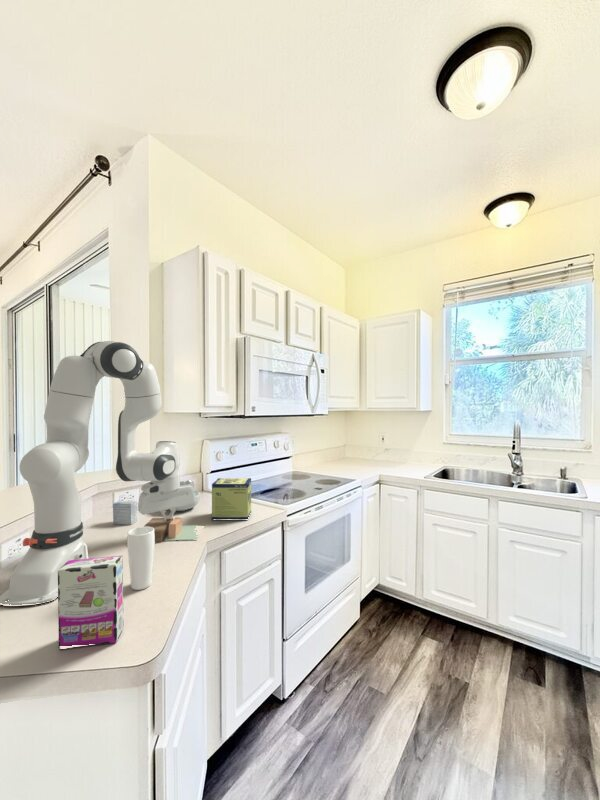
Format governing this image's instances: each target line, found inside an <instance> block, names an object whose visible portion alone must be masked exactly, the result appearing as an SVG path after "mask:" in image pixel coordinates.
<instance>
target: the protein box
mask: <svg viewBox="0 0 600 800" xmlns="http://www.w3.org/2000/svg"><path fill="white" fill-rule="evenodd" d="M250 513H252V478H250V477H245V478H244V477H243V478H242V477H241V478H240V477H239V478H238V477H237V478H234V477H233V478H231V477H230V478H229V477H227V478H225V477H224V478H222V477H221V478H220V477H219V478H217V479H216V480H215V481H214V482H213V483H211V520H212V519H248V517H249V518H250V516H251V514H250ZM249 515H250V516H249ZM248 520H249V519H248Z"/></svg>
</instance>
